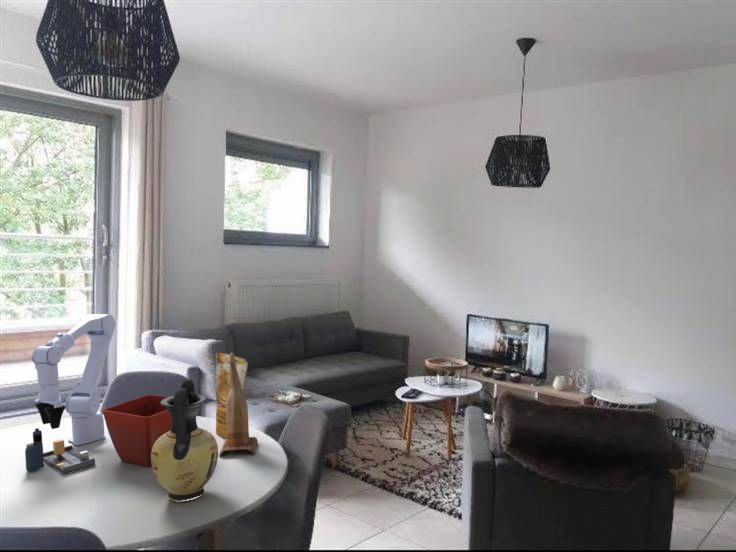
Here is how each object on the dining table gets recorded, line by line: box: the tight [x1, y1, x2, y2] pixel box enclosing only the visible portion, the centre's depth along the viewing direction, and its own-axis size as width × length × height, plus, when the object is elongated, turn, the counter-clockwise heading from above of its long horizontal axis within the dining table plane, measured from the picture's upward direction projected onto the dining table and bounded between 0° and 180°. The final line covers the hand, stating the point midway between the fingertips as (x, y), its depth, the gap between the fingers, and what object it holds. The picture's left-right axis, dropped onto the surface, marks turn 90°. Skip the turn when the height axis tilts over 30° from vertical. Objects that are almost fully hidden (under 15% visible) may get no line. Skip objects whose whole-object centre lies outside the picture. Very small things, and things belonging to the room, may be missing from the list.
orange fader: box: [52, 438, 66, 457], centre depth 177 cm, size 3×2×5 cm
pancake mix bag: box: [214, 352, 249, 440], centre depth 195 cm, size 7×19×28 cm, turn 41°
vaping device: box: [24, 428, 45, 473], centre depth 170 cm, size 3×5×12 cm, turn 161°
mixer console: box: [43, 444, 96, 475], centre depth 175 cm, size 9×18×4 cm, turn 48°
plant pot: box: [102, 394, 172, 468], centre depth 177 cm, size 19×19×17 cm
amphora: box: [151, 378, 219, 502], centre depth 149 cm, size 18×17×30 cm
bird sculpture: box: [218, 352, 259, 458], centre depth 181 cm, size 11×12×32 cm
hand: (51, 425), depth 180 cm, fingers open, 7 cm apart
